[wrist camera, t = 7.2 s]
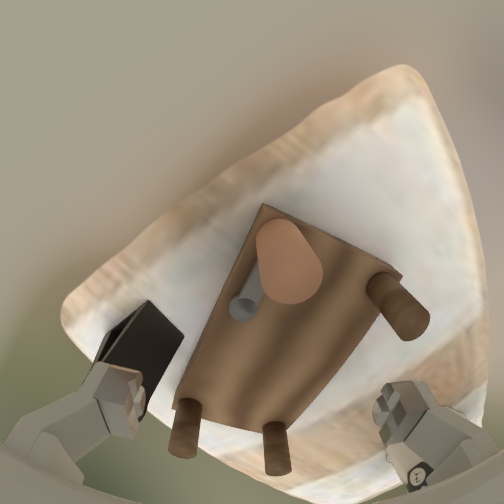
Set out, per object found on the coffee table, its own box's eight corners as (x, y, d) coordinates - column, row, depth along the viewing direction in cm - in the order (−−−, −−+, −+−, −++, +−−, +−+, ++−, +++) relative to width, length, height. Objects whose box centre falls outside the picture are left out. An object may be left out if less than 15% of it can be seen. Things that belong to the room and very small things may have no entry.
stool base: (390, 265, 30) (441, 311, 20) (278, 421, 38) (284, 478, 28) (262, 202, 27) (273, 233, 17) (175, 393, 35) (161, 453, 26)
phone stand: (149, 299, 30) (110, 370, 19) (184, 335, 32) (164, 413, 21) (105, 334, 32) (65, 399, 21) (137, 365, 34) (110, 434, 22)
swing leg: (256, 322, 28) (259, 375, 21) (218, 307, 27) (211, 358, 20) (309, 230, 25) (334, 262, 18) (268, 210, 24) (279, 235, 17)
